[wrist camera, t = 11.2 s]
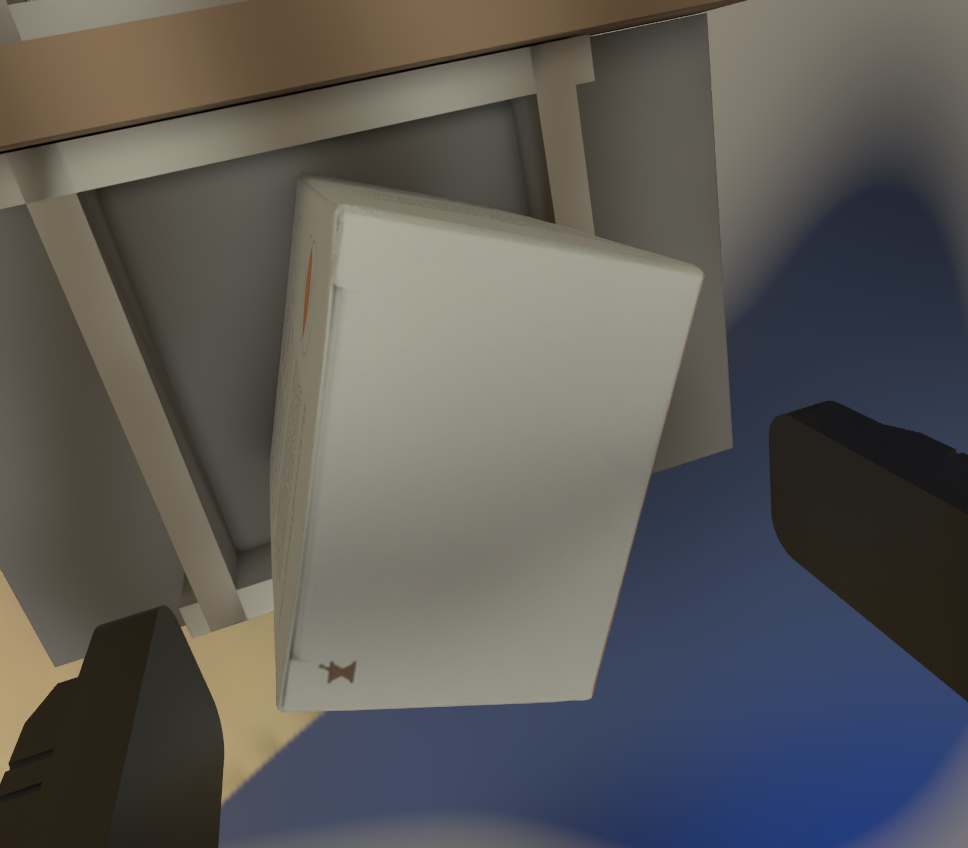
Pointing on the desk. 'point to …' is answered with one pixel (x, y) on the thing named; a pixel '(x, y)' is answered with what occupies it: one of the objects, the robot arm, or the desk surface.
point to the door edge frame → (283, 245)
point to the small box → (459, 447)
